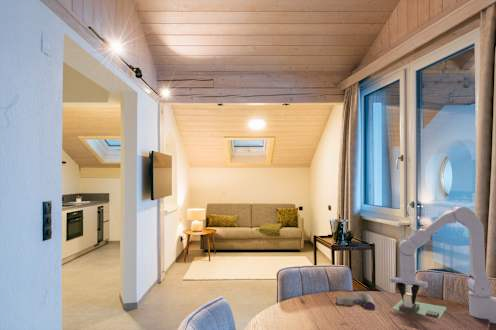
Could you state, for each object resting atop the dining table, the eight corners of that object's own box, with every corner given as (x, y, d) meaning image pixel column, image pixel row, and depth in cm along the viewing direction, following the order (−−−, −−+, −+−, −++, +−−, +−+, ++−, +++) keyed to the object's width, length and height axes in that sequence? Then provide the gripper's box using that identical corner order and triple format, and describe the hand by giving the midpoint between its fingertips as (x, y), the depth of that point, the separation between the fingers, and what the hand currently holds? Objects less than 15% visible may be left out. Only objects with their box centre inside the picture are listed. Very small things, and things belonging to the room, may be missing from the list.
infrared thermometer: (336, 304, 156) (370, 303, 155) (340, 313, 144) (377, 312, 143) (335, 293, 157) (369, 292, 155) (339, 302, 145) (375, 301, 143)
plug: (414, 306, 144) (413, 293, 144) (411, 308, 140) (411, 295, 141) (406, 304, 146) (406, 292, 146) (403, 307, 142) (403, 294, 143)
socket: (419, 308, 144) (419, 304, 144) (415, 312, 138) (414, 309, 138) (404, 305, 148) (403, 301, 148) (399, 309, 142) (399, 306, 142)
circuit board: (447, 309, 145) (446, 305, 145) (440, 320, 132) (439, 315, 133) (402, 301, 156) (401, 297, 156) (391, 310, 144) (391, 306, 144)
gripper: (387, 268, 146) (388, 301, 145) (424, 273, 137) (426, 308, 136) (391, 265, 151) (393, 297, 150) (428, 270, 142) (429, 304, 141)
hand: (409, 302), depth 143 cm, fingers closed on plug, 3 cm apart
